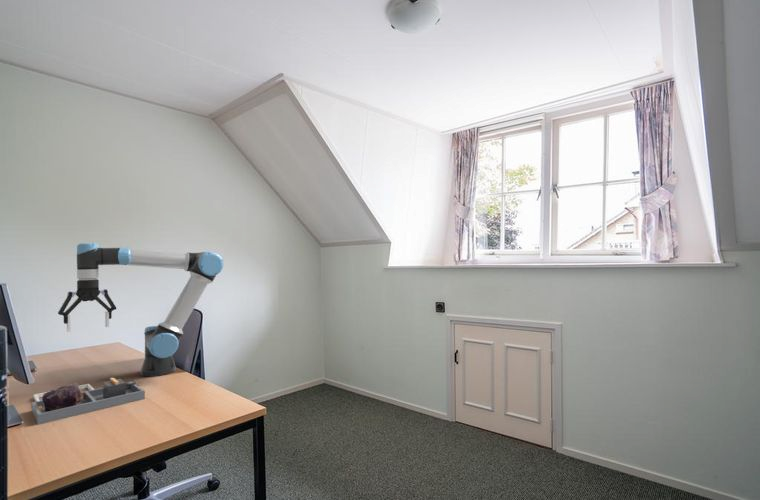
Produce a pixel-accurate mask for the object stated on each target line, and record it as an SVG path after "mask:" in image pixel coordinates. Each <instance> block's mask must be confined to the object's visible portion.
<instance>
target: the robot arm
mask: <svg viewBox="0 0 760 500" xmlns="http://www.w3.org/2000/svg"><path fill="white" fill-rule="evenodd" d="M120 265H121V266H134V267H135V266H137V267H149V268H162V269H163V268H164V269H175V270H176V269H179V270H183V271H185V272H189V274H190V275H189V276H190V277H189V278H188V280H187V282H186V284H185V286H184V287H183V289H182V290H181V293H180V294H179V296H178V297H177V299H176V301H175V302H174V305H173V306H172V307H171V310H170V311H169V313H168V314H167V316H166V318H165V320H164V321H163V322H160V323H158V325H152V326H146V327H145V329H144V333H143V334H144V359H143V363H142V365H141V368H140V376H142V377H159V376H164V375H169V374H172V373H174V372H176V368H177V367H176V364H175V360H174V358H173V355H174V354H175V353H176V352H177V350H178V348H179V346H180V345H179V343H180V340H181V338H182V336H183V335H184V331H183V329H184V327H185V325H186V323H187V321H188V319H189V317H190V316H191V315H192V313H193V311H194V309H195V307H196V305H197V304H198V301H199V300H200V298H201V297H202V295H203V293H204V292H205V289H206V288H207V286H208V285H209V284H212V283H213V282H214V280H215V278H216V276H217V275H218V274H220V273H221V272H222V270H223V268H224V261H223V258H222V256H221V255H220V254H218V253H217V252H214V251H209V250H208V251H202V252H201V251H200V252H186V253H185V254H184V253H175V252H174V253H173V252H160V251H151V250H150V251H148V250H140V249H139V250H138V249H137V250H136V249H130V248H128V247H100V246H99V244H98V243H95V242H93V243H90V242H89V243H83V242H82V243H78V244H77V245H76V278H77V280H76V291H68V292H67V296H66V298H65V300H64V301H63V303H62V305H61V306H60V308H59V310H58V312H57V315H59V316H63V323H64V325H66V331H67V332H69V333H70V332H71V315H70V314H71V312H72V311H73V310H75V308H76V307H78V305H79V304H80V303H82V302H88V301H90V302H94V301H96V302H97V303H98V305H99V304H100V305H101V307H102V308H104V309H105V310H106V311H104V313H105V314H104V315H105V316H104V317H105V320H104V321H105V324H104V326H105V327H106V328H110V320H111V319H112V317H113V316H112V315H113V311H115V310H117V305H116V304H115V302H114V301H113V300H112V299H111V297H110V295H109V291H108V289H106V288H105V289H101V290H100V288H99V287H100V286H99V285H100V282H99V281H100V280H99V278H100V277H99V274H100V273H99V268H100V267H99V266H120ZM100 294H101V295H102V296H104V298H105V300H106V301H107V303H108V305H107V304H106V303H105V302H104V301H103V300H102V299H101V298H100V297H99V295H100ZM75 296H76V297H77V298H76V299H75V301H74V302H72V304H71V305H70V306H69V303H70V302H71V300H72V298H74V297H75ZM68 306H69V307H68ZM67 307H68V308H67ZM66 308H67V309H66ZM65 310H66V311H65Z"/></svg>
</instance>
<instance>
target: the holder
mask: <svg viewBox="0 0 760 500" xmlns="http://www.w3.org/2000/svg"><path fill="white" fill-rule="evenodd" d="M82 392H83V395H84V396H83V398H84V399H83V400H82V401H80V402H79V403H77V404H76V405H75V406H71V407H66V408H62V409H57V410H53V411H46V410H45V405H44V402H43V401H42V399H41V400H40V401H37V402H35V401H32V402H31V413H32V415H33V416H34V418H35V422H36V423H37V425H42V424H45V423H49V422H53V421H54V422H55V421H58V420H61V419H62V420H63V419H66V418H69V417H74V416H79V415H83V414H86V413H91V412H95V411H99V410H104V409H107V408H112V407H117V406H120V405H124V404H128V403H134V402H137V401H141V400H145V396H146V395H145V390H144V389H143V388H142V387H140V386H139V385H137V381H136V380H132V381H124V380H123V379H121V378H115V377H110V378H109V380H107V381H103V383H102V387H99V388H94V390H85V391H82Z"/></svg>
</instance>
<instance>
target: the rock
mask: <svg viewBox="0 0 760 500" xmlns="http://www.w3.org/2000/svg"><path fill="white" fill-rule="evenodd" d="M79 386H80V385H79V383H77V382H75V383H70V384H68V385H63V386H61V387H58V388H56V389H51V390H50V392H49V391H46V392H47V393H45V394H43V397H41V400H42V401H43V402H44V405H45V410H46V411H53V410H57V409H62V408H66V407H71V406H75V405H76V404H77V403H79V402H80V401H82V400H83V399H84V398H83V396H84V395H83V392H84V391H82V389H80V388H79Z"/></svg>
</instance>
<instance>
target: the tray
mask: <svg viewBox="0 0 760 500" xmlns="http://www.w3.org/2000/svg"><path fill="white" fill-rule="evenodd" d="M78 386H79V388H80V389H81V390H83V389H87V390H88V391H90V390H94V389H95V388H94V386H92V385H91V384H90V383H86V384H82V385H78ZM50 391H51V390H50ZM50 391H45V392H41V393H35V394H33V400H34V402H37V401H41V400H40V398H42V397H43V394H45V393H47V392H50Z"/></svg>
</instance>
